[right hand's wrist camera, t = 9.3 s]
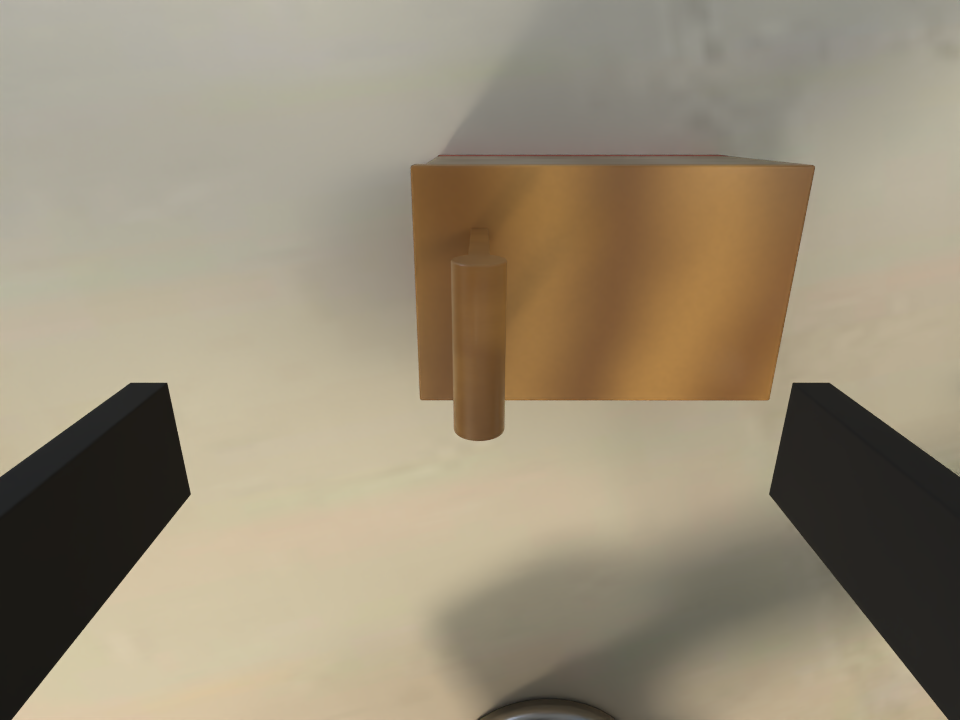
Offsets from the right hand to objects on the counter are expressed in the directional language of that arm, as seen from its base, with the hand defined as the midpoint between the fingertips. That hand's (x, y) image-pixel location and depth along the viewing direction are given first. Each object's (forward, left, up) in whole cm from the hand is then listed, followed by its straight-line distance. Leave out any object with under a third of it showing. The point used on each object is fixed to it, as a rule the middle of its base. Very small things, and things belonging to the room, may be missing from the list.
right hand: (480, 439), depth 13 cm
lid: (+3, -4, -13) cm, 14 cm away
